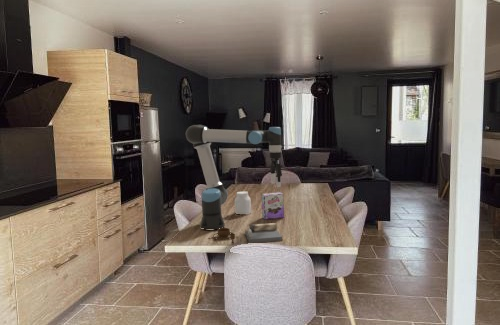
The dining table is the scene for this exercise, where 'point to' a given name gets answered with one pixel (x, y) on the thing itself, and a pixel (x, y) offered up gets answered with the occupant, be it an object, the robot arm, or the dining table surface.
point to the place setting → (225, 234)
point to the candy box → (272, 205)
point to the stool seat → (263, 235)
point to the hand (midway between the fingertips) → (275, 185)
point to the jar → (242, 203)
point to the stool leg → (263, 227)
